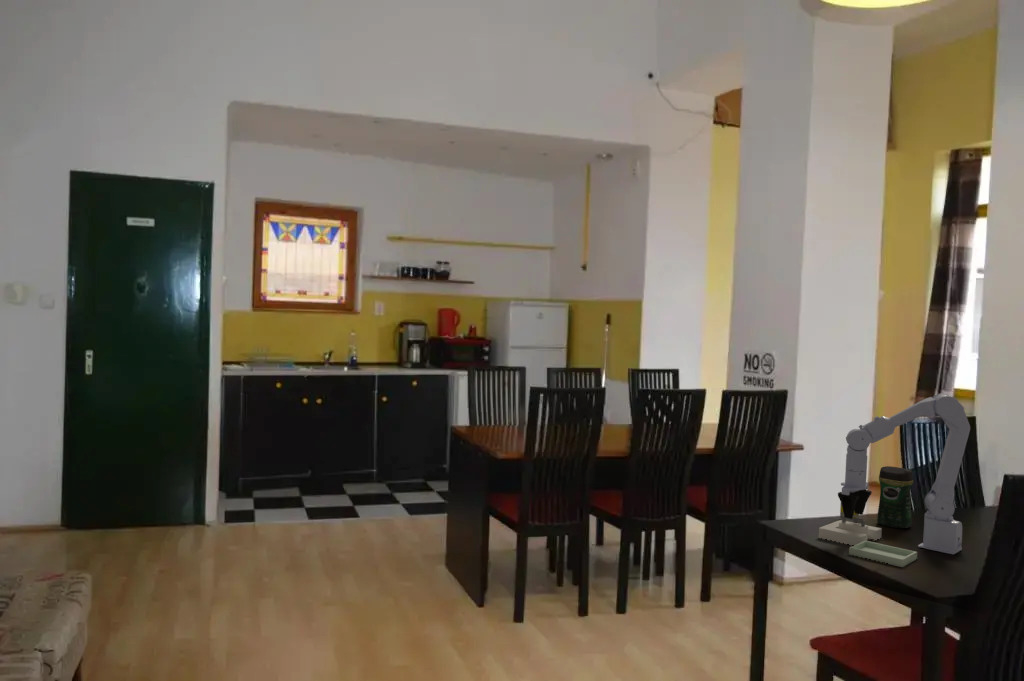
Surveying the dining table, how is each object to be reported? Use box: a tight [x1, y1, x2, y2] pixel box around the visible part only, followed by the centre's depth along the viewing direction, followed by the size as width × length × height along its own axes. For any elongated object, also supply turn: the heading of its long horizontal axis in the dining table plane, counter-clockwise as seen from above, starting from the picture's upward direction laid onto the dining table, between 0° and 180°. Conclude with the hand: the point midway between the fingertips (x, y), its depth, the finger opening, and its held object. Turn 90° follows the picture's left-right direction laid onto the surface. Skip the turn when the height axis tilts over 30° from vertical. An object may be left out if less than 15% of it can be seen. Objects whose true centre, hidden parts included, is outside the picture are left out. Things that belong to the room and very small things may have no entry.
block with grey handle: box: [839, 516, 869, 540], centre depth 238 cm, size 7×4×6 cm, turn 45°
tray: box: [848, 540, 918, 568], centre depth 220 cm, size 14×11×2 cm
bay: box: [818, 519, 883, 546], centre depth 238 cm, size 12×15×3 cm
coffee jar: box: [876, 465, 914, 529], centre depth 256 cm, size 10×8×19 cm
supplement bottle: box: [839, 503, 860, 523], centre depth 260 cm, size 6×6×10 cm
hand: (853, 515), depth 238 cm, fingers open, 7 cm apart
